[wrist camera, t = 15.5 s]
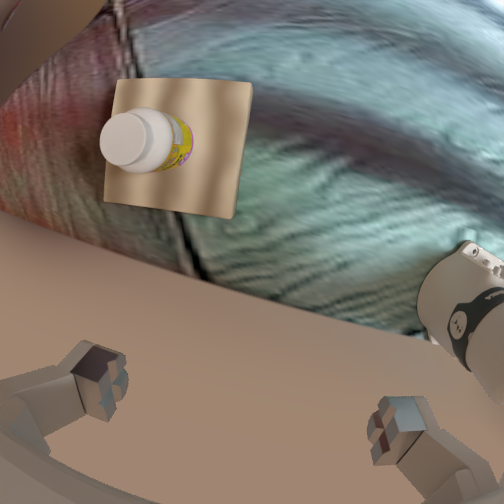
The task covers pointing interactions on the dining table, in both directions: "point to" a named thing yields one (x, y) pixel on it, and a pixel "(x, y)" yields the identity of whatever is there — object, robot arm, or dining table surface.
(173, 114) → the birch plinth
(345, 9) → the dining table surface
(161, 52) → the dining table surface
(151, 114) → the supplement bottle
